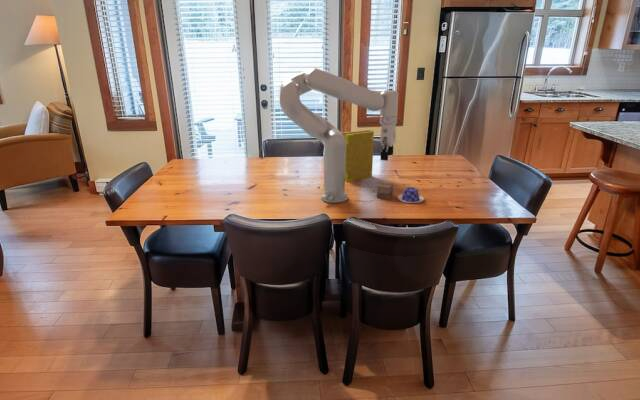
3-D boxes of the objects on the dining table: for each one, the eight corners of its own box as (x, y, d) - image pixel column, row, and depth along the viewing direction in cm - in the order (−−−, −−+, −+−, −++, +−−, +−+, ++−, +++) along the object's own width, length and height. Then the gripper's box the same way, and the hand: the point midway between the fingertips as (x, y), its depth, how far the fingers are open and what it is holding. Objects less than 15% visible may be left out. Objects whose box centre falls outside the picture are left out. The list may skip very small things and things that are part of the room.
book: (346, 181, 197) (346, 134, 187) (340, 178, 203) (341, 132, 193) (374, 177, 203) (376, 132, 193) (368, 174, 208) (369, 129, 199)
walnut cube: (389, 199, 173) (390, 187, 171) (376, 197, 175) (377, 185, 173) (392, 195, 178) (393, 183, 176) (380, 193, 180) (381, 181, 178)
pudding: (393, 201, 172) (393, 190, 170) (403, 193, 181) (404, 183, 179) (418, 206, 165) (419, 195, 163) (427, 198, 174) (428, 187, 172)
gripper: (392, 123, 155) (390, 163, 161) (401, 116, 170) (399, 153, 176) (374, 122, 158) (373, 161, 164) (385, 116, 173) (383, 152, 179)
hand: (386, 157), depth 170 cm, fingers open, 9 cm apart
